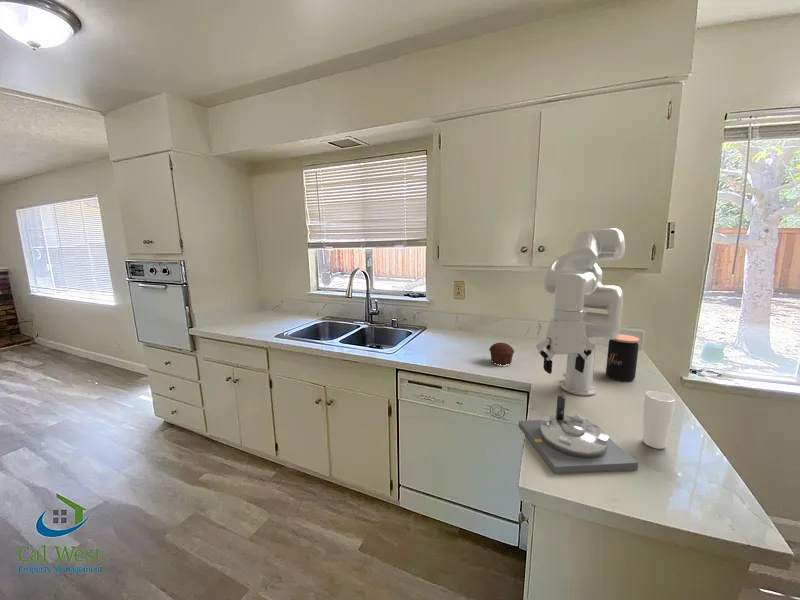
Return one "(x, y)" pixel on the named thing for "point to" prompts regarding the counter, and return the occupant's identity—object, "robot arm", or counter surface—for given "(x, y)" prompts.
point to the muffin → (501, 353)
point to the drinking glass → (657, 418)
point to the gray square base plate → (568, 463)
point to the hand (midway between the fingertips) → (563, 371)
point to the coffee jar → (622, 357)
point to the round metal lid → (573, 433)
